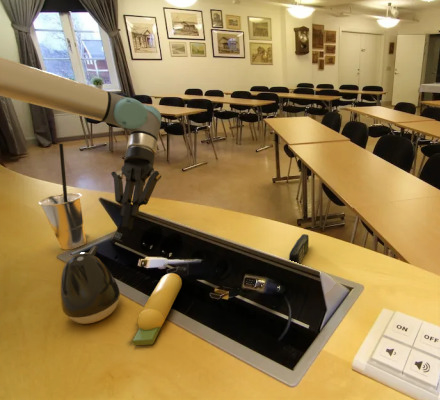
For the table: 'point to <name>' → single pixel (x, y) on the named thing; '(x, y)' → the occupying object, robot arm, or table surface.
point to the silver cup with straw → (65, 214)
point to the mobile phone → (299, 249)
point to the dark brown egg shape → (88, 288)
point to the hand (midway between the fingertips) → (126, 228)
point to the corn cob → (157, 309)
